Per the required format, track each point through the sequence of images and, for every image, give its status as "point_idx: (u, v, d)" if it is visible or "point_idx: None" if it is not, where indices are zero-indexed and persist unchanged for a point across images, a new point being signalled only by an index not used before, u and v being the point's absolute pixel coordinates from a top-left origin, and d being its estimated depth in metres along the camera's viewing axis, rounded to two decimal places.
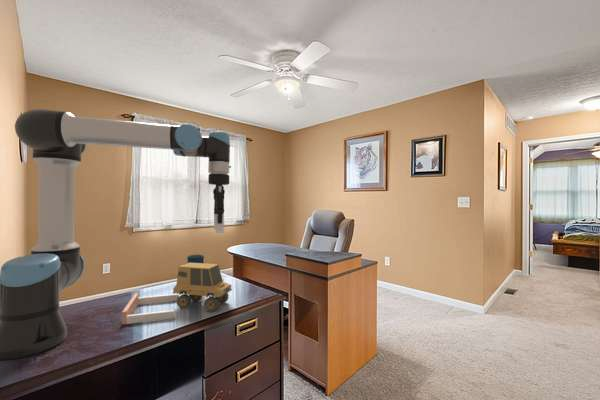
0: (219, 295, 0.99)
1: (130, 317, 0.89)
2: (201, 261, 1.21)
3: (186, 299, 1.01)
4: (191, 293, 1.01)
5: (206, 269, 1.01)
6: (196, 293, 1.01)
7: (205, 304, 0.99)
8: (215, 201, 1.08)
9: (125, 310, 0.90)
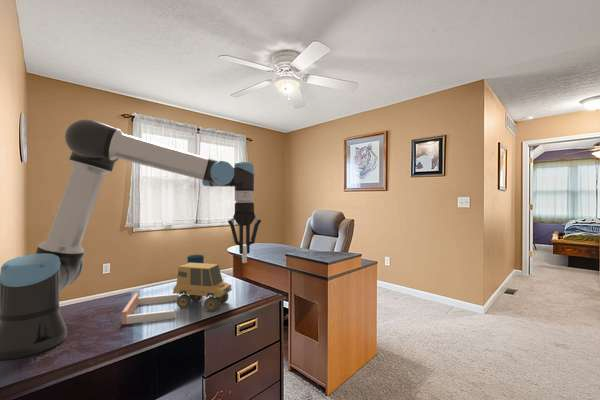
0: (219, 295, 0.99)
1: (130, 317, 0.89)
2: (201, 261, 1.21)
3: (186, 299, 1.01)
4: (191, 293, 1.01)
5: (206, 269, 1.01)
6: (196, 293, 1.01)
7: (205, 304, 0.99)
8: None
9: (125, 310, 0.90)
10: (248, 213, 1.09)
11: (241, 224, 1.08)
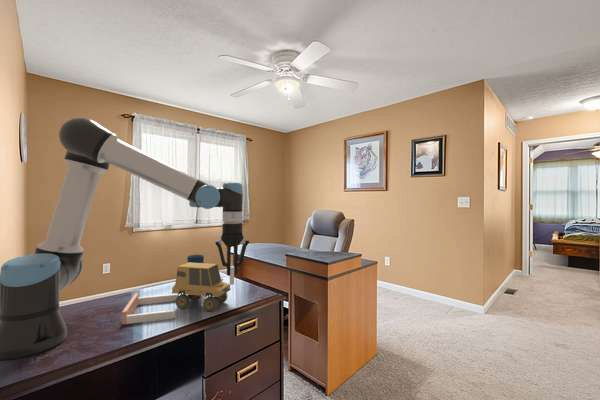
0: (218, 295, 0.99)
1: (130, 317, 0.89)
2: (201, 261, 1.21)
3: (185, 299, 1.01)
4: (190, 293, 1.01)
5: (205, 269, 1.01)
6: (195, 293, 1.00)
7: (204, 304, 0.99)
8: None
9: (125, 310, 0.90)
10: (236, 234, 1.08)
11: (229, 245, 1.06)
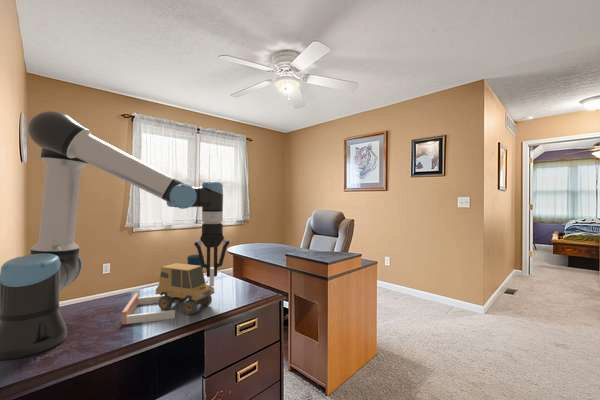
0: (197, 298, 0.95)
1: (130, 317, 0.89)
2: None
3: (166, 300, 0.99)
4: (171, 295, 0.99)
5: (186, 271, 0.98)
6: (176, 295, 0.98)
7: (183, 307, 0.96)
8: None
9: (125, 310, 0.90)
10: (216, 234, 1.05)
11: (208, 246, 1.04)
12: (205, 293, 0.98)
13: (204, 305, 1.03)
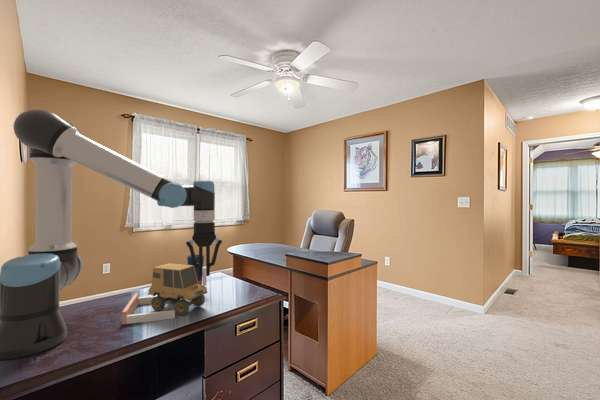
0: (188, 298, 0.94)
1: (130, 317, 0.89)
2: None
3: (159, 301, 0.98)
4: (164, 295, 0.98)
5: (177, 270, 0.97)
6: (168, 295, 0.97)
7: (176, 307, 0.96)
8: None
9: (125, 310, 0.90)
10: (208, 233, 1.04)
11: (200, 245, 1.03)
12: (197, 293, 0.97)
13: (197, 305, 1.02)
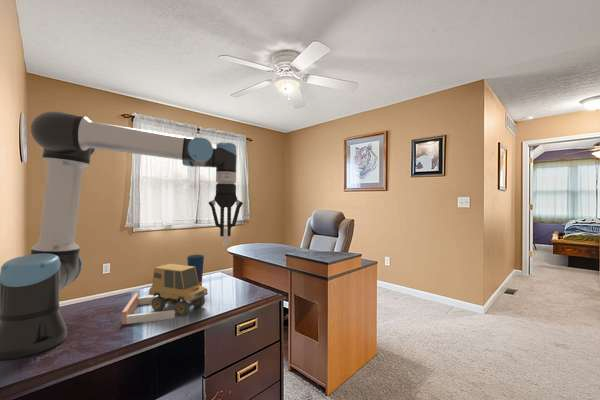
0: (189, 299, 0.94)
1: (130, 317, 0.89)
2: (201, 261, 1.21)
3: (159, 301, 0.98)
4: (164, 295, 0.98)
5: (178, 271, 0.97)
6: (169, 296, 0.97)
7: (176, 308, 0.96)
8: (227, 212, 1.09)
9: (125, 310, 0.90)
10: (229, 195, 1.07)
11: (222, 206, 1.06)
12: (198, 294, 0.97)
13: (197, 306, 1.02)
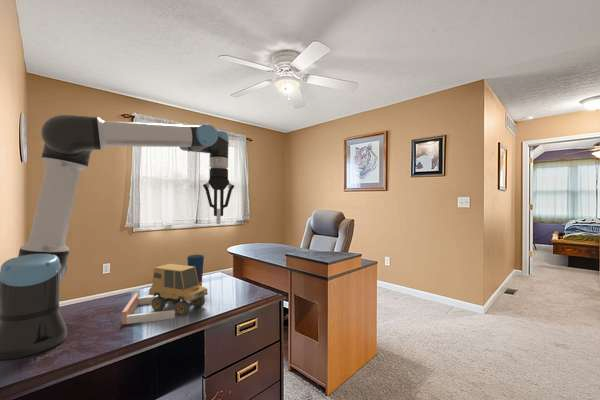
0: (189, 299, 0.94)
1: (130, 317, 0.89)
2: (201, 261, 1.21)
3: (159, 301, 0.98)
4: (164, 295, 0.98)
5: (178, 271, 0.97)
6: (169, 296, 0.97)
7: (176, 308, 0.96)
8: (220, 194, 1.20)
9: (125, 310, 0.90)
10: (222, 178, 1.18)
11: (215, 188, 1.17)
12: (198, 294, 0.97)
13: (197, 306, 1.02)
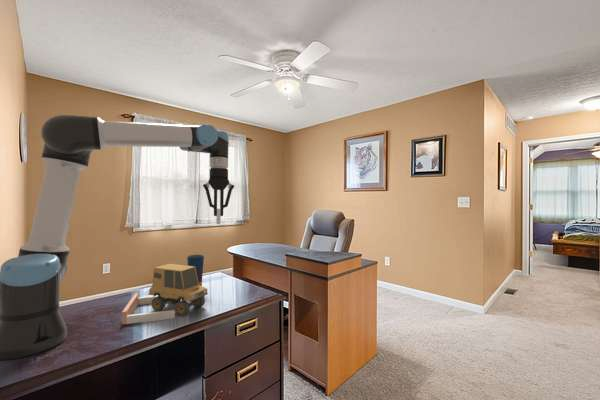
0: (189, 299, 0.94)
1: (130, 317, 0.89)
2: (201, 261, 1.21)
3: (159, 301, 0.98)
4: (164, 295, 0.98)
5: (178, 271, 0.97)
6: (169, 296, 0.97)
7: (176, 308, 0.96)
8: (220, 194, 1.20)
9: (125, 310, 0.90)
10: (222, 178, 1.18)
11: (215, 188, 1.17)
12: (198, 294, 0.97)
13: (197, 306, 1.02)
